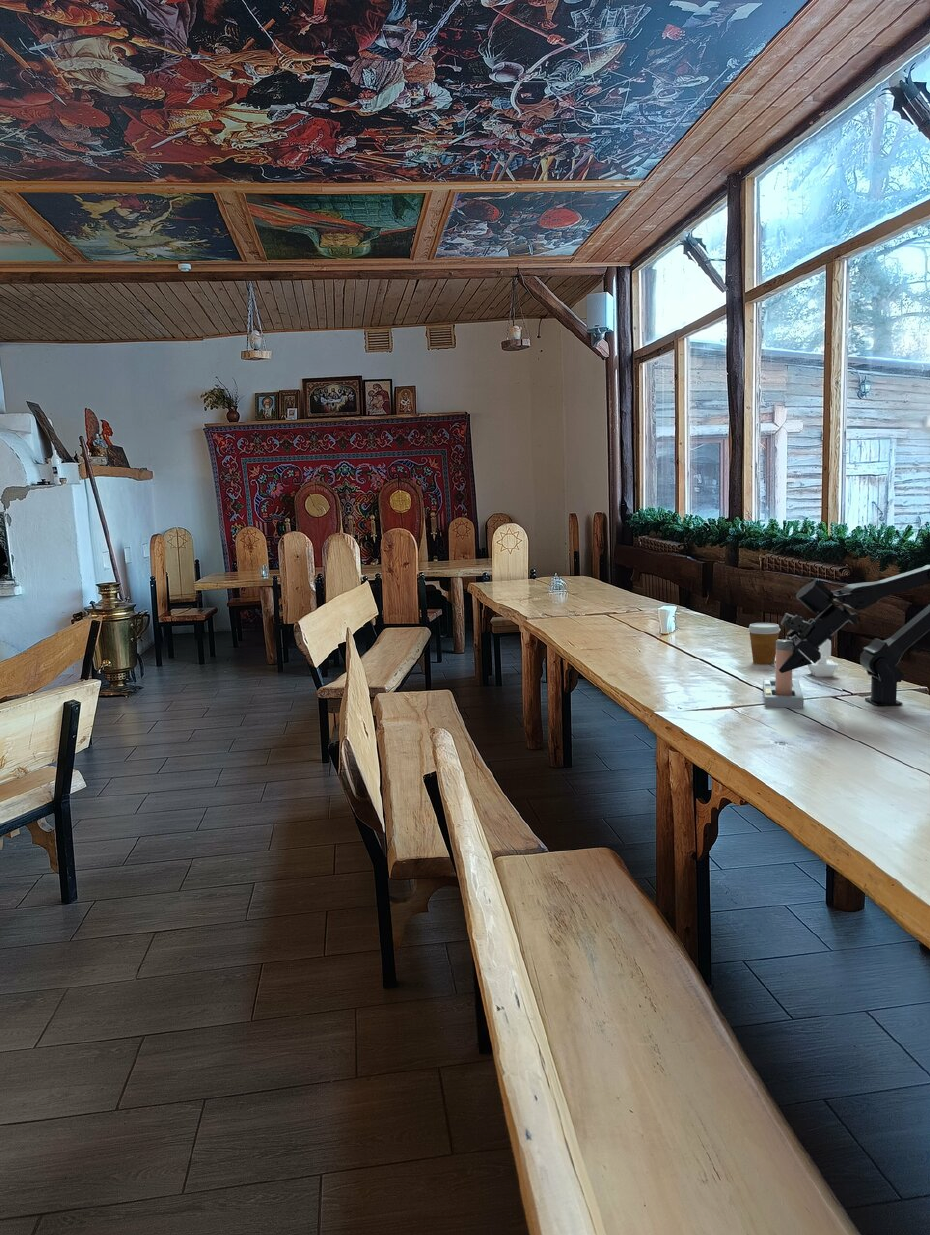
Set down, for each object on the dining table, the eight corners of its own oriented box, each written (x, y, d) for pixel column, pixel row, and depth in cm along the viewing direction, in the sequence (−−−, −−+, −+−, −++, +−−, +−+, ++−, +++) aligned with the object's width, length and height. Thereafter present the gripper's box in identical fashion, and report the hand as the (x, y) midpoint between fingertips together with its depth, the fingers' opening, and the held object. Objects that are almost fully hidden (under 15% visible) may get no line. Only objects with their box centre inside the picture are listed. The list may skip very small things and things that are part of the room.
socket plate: (803, 708, 199) (803, 696, 198) (764, 706, 202) (765, 695, 201) (798, 689, 218) (798, 678, 217) (763, 687, 221) (763, 677, 220)
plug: (794, 704, 203) (795, 642, 201) (778, 704, 203) (779, 642, 201) (788, 700, 207) (789, 639, 205) (772, 700, 207) (773, 639, 205)
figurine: (813, 678, 228) (814, 626, 226) (803, 671, 238) (804, 621, 235) (840, 678, 227) (841, 626, 225) (829, 671, 237) (830, 620, 234)
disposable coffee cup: (741, 661, 255) (741, 624, 253) (766, 658, 257) (767, 621, 256) (760, 667, 246) (761, 628, 244) (786, 664, 248) (787, 625, 247)
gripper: (796, 597, 209) (751, 639, 214) (807, 607, 191) (757, 652, 196) (828, 627, 208) (782, 668, 213) (842, 640, 190) (791, 684, 195)
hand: (777, 667), depth 204 cm, fingers open, 9 cm apart
